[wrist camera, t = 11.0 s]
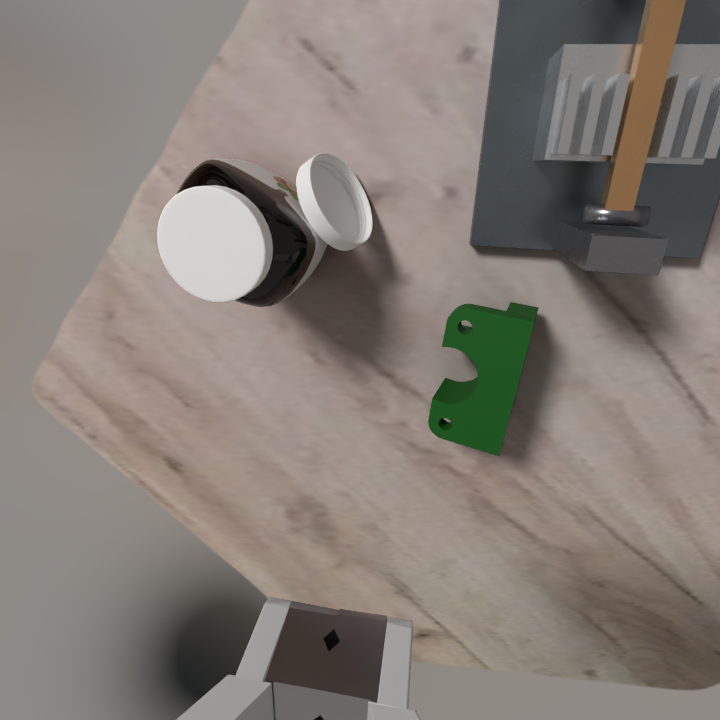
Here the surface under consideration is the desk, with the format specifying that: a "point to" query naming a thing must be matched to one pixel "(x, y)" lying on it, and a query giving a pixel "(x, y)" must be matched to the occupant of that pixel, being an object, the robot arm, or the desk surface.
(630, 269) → the heatsink mount
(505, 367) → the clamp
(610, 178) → the wooden handle
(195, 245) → the chocolate spread jar
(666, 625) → the desk surface
